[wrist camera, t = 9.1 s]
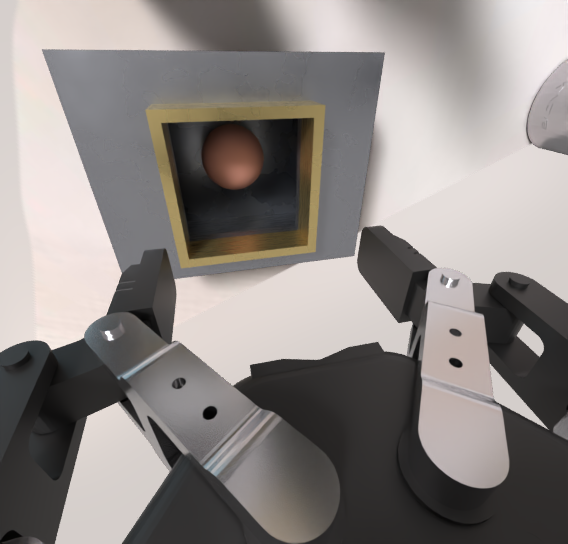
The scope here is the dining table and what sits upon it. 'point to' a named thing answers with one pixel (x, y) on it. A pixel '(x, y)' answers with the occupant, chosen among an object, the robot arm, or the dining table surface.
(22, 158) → the dining table surface
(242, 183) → the ball
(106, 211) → the grey box with opening
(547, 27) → the dining table surface
